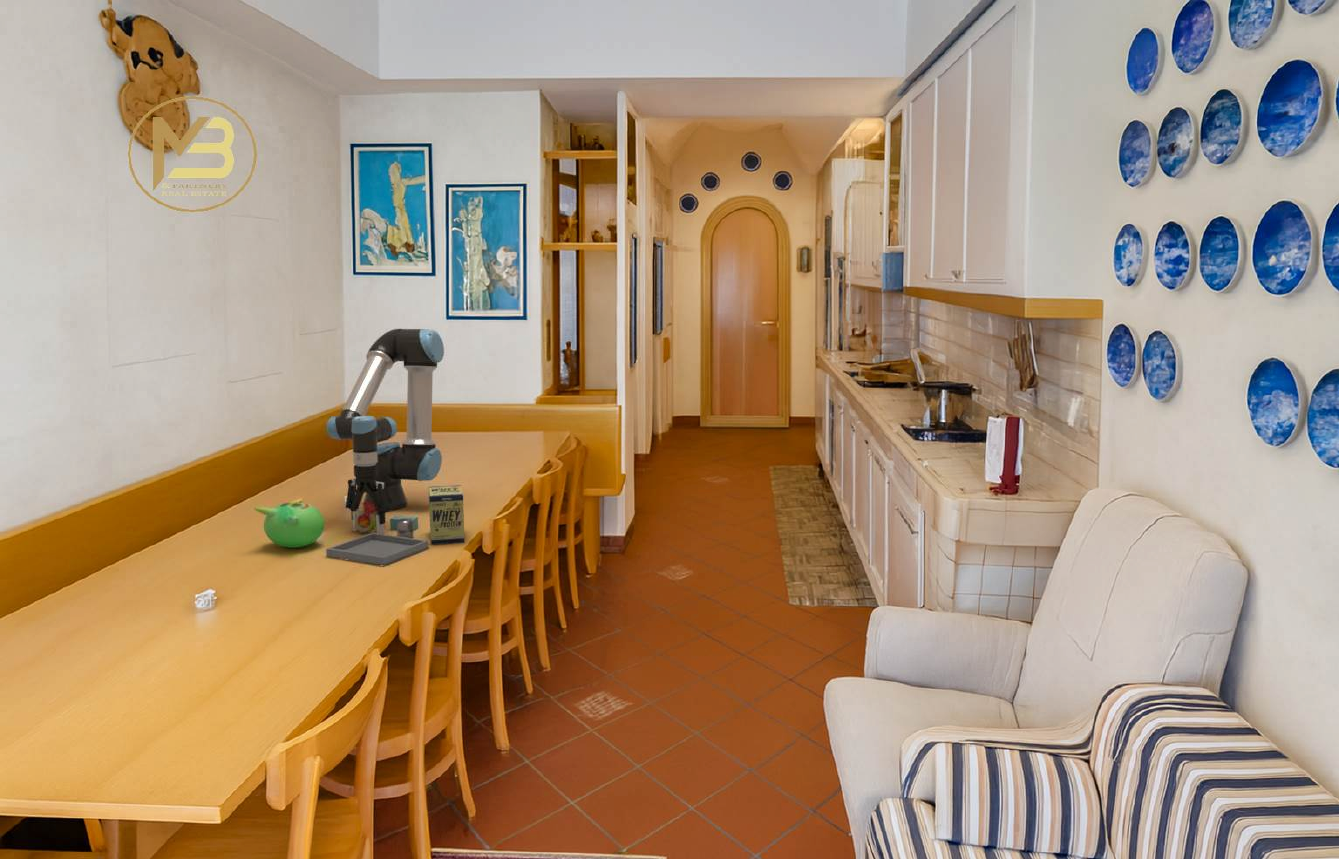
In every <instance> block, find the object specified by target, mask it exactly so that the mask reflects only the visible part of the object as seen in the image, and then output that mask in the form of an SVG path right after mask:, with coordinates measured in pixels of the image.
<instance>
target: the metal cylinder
mask: <svg viewBox="0 0 1339 859" xmlns="http://www.w3.org/2000/svg"><path fill="white" fill-rule="evenodd" d="M396 536H399V537H406V538H414V539H415V537H414V531H413V520H412V519H399V520H397V531H396Z"/></svg>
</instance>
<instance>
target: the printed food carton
mask: <svg viewBox="0 0 1339 859" xmlns="http://www.w3.org/2000/svg"><path fill="white" fill-rule="evenodd" d="M362 506H363V508H364V507H365V508H364V509H363V510H360V512H359V513H358V514H357V515H356V517H355V524H356V527H357V528H358V529H359V530H358V532H359V533H360V534H364V533H368V532H371V531H373V532H372V533H377V525H376V517H375V515H374V513H373V511H374V512H377V510H376V508H375V505H374V504H372V503H370V502H364V501H363V502H362ZM363 515H367V516H363ZM369 517H370V519H371V523H370V519H369ZM369 524H370V525H369ZM385 524H386V522H385V523H384V525H385ZM368 525H369V527H367V526H368Z"/></svg>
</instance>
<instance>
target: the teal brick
mask: <svg viewBox="0 0 1339 859" xmlns="http://www.w3.org/2000/svg"><path fill="white" fill-rule="evenodd" d="M399 519H412V520H413V532H415V531H417V530H418V529H419V517H418V516H400V515H399V516H397V515H396V516H395V515H394V516H393V517H391V518H389V525H390V529H389V530H390V531H396V532H397V520H399Z"/></svg>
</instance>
